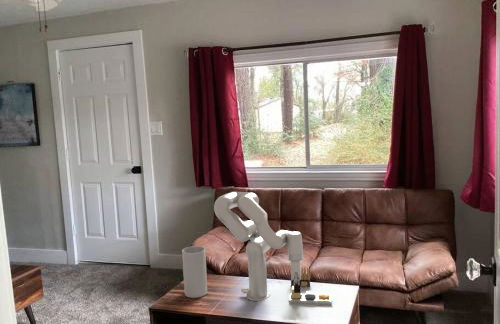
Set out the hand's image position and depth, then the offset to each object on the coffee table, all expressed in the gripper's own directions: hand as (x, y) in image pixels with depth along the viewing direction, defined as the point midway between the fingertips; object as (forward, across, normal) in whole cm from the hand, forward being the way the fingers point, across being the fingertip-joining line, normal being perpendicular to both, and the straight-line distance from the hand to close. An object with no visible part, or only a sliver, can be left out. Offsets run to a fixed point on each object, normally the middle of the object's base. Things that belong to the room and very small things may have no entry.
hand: (297, 288), depth 219 cm
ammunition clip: (+8, -19, 0) cm, 21 cm away
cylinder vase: (+6, -8, -57) cm, 57 cm away
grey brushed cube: (+7, 0, +6) cm, 9 cm away
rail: (+8, 0, +6) cm, 10 cm away
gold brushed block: (+6, 0, -1) cm, 7 cm away
